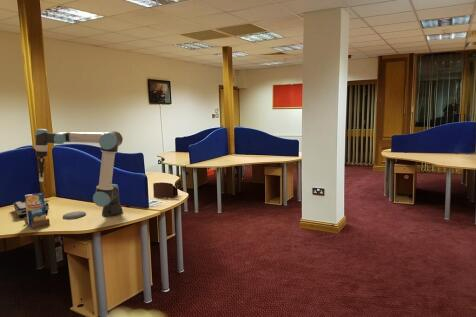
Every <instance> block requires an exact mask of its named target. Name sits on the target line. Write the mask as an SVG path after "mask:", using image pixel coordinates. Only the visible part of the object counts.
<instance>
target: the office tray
mask: <svg viewBox="0 0 476 317" xmlns="http://www.w3.org/2000/svg"><path fill="white" fill-rule="evenodd" d="M44 203H45V212H46V214H48V213H49V210H50V204H49V203H48V202H46V201H45V200H44ZM13 208H14V212H15V213H16V215H17V216H18V215H19V216H18V218H19V219H22V218H23V217H27V212H26V204H25V201H16V202H13ZM23 219H24V218H23Z"/></svg>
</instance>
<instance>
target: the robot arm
mask: <svg viewBox="0 0 476 317" xmlns="http://www.w3.org/2000/svg"><path fill="white" fill-rule="evenodd" d="M123 141H124V140H123V136H122V134H121V132H118V131H116V130H115V131H105V132H78V131H77V132H76V131H71V132H69V131H63V132H62V131H61V132H49V130H48V129H46V128H37V129H35V145H34V148H35V157H39V158H38V159H37V160H38V165H39V166H38V168H39V169H38V172H37V173H38V174H39V176H38V177H39V178H38V181H39V182H40V183H41V182H44V181H45V180H44V176H45V173H44V170H45V166H44V165H45V162H46V161H45V160H46V159H45V157H48V147H49V146H48V145H49V144H54V145H55V144H56V145H64V144H65V143H83V144H84V143H89V144H98V145H99V147H100V149H99V150H100V152H102V153H101V162H100V170H99V181H98V185H96V187H95V188H96V189H95V192H94V194H93V196H92V201H93V203H94V204H95V205H96V206H97V207H101V208H102V210H101V216H103V217H116V216H119V215H122V214H123V208H122V205H121V203H120V202H121V201H120V192H119V191H120V190H119V189H120V188H119V185H118V184H116V183H113V174H114V165H115V156H116V154H117V153H118V151H119V150H118V149H119V146H121V144H122V143H123Z"/></svg>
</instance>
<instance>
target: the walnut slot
mask: <svg viewBox="0 0 476 317" xmlns="http://www.w3.org/2000/svg"><path fill="white" fill-rule="evenodd" d="M23 219H24V224H25V225H28V220H27V217H24V218H23ZM50 222H51V220H50V218H46V219H44V220H39V221H35V222H31V224H32V227H31V230H38V229H41V228H44V227H45V228H46V227H49V226H51V224H50Z"/></svg>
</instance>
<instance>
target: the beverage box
mask: <svg viewBox="0 0 476 317" xmlns="http://www.w3.org/2000/svg"><path fill="white" fill-rule="evenodd" d="M44 201H45V194H44V193H43V192H38V193H31V194H25V195H24V202H25V204H26V212H27V220H28V224H27V225H28V227H29V228H31V229H32V224H31V222H35V221H39V220H44V219H47V213H46V212H45V203H44Z"/></svg>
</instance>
